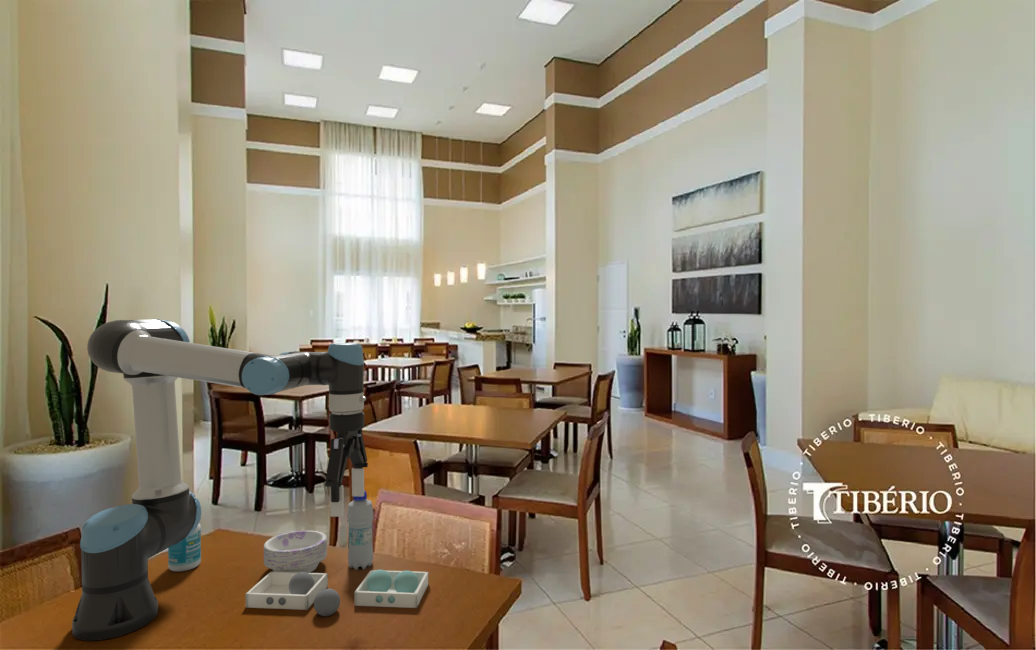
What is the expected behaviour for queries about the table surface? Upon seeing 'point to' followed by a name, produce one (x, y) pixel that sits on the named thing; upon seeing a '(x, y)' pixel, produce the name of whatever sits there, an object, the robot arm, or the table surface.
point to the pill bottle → (186, 552)
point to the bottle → (360, 532)
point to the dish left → (283, 592)
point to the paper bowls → (295, 551)
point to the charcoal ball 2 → (327, 602)
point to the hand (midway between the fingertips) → (348, 505)
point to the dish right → (391, 593)
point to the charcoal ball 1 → (301, 583)
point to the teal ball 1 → (379, 581)
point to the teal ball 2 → (406, 582)
